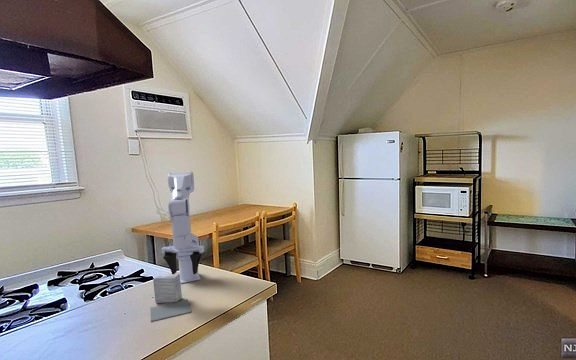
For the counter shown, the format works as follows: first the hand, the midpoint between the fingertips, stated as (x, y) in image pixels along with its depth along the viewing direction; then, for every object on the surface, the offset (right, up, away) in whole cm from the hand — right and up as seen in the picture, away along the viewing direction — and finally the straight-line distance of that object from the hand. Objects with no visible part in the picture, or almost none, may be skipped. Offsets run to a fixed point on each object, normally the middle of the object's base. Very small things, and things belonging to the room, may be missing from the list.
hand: (184, 273), depth 112 cm
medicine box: (-6, -10, +2) cm, 12 cm away
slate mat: (-3, -11, -5) cm, 12 cm away
